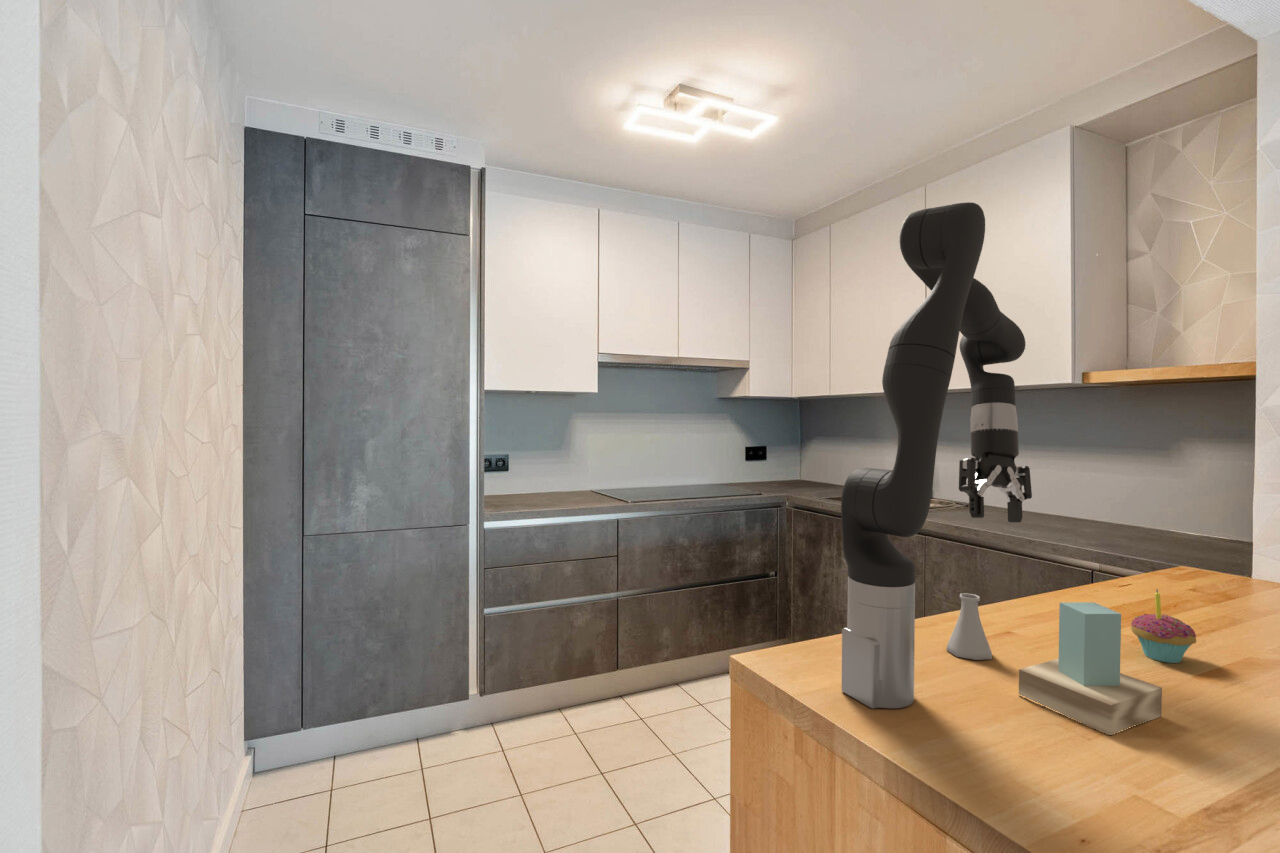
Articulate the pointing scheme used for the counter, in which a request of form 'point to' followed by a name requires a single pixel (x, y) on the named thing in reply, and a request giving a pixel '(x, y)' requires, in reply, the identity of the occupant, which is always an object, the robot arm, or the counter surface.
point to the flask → (969, 632)
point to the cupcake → (1163, 635)
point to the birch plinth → (1092, 698)
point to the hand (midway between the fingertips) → (996, 520)
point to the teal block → (1089, 643)
